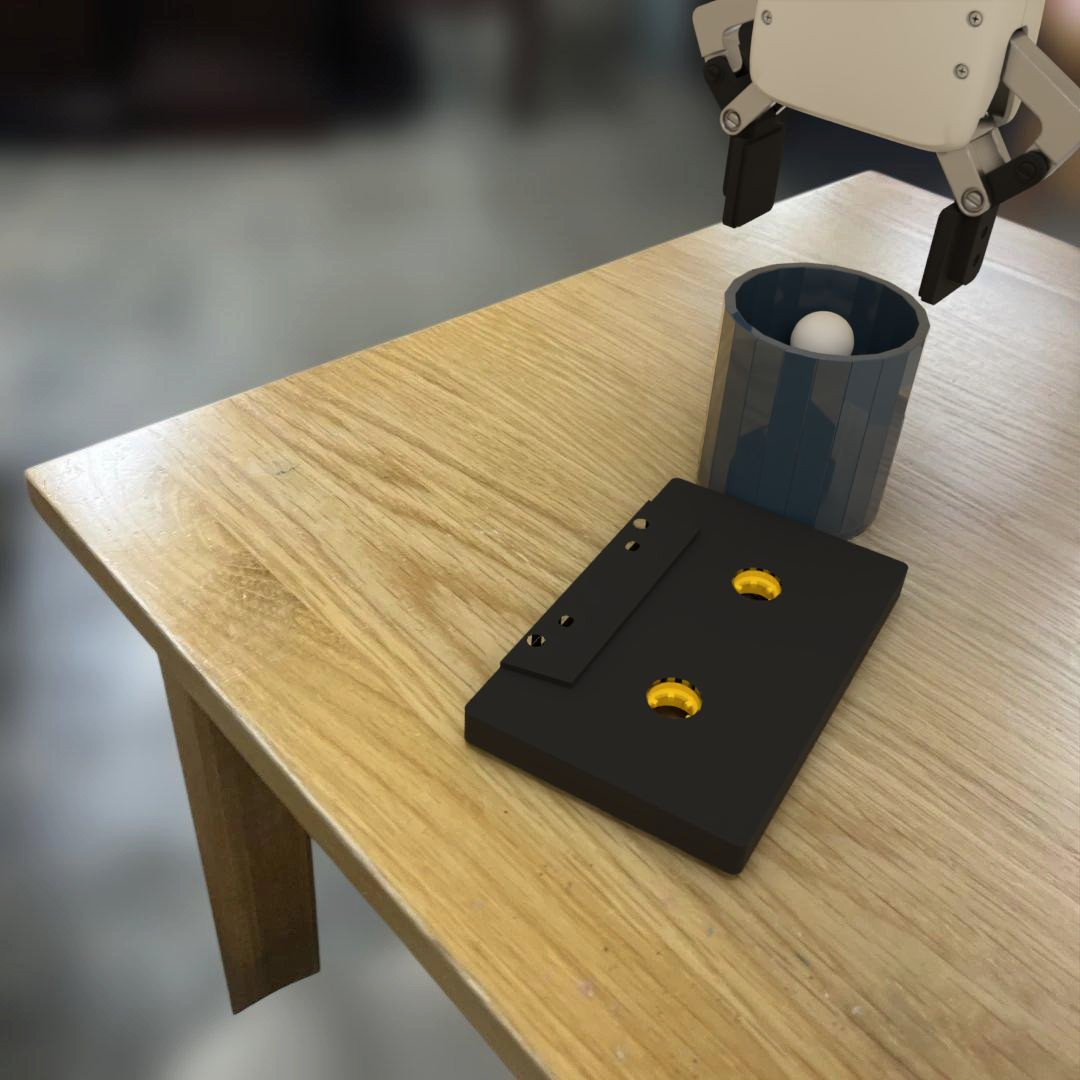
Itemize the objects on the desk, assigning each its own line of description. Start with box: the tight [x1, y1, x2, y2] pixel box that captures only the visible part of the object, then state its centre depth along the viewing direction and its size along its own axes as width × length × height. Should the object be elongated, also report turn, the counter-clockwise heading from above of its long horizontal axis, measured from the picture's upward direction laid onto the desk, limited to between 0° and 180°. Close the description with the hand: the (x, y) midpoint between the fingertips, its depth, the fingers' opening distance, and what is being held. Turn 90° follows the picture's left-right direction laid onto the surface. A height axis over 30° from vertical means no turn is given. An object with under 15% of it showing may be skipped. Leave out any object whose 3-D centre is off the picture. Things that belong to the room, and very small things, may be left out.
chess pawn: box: [790, 311, 854, 356], centre depth 57 cm, size 5×5×9 cm
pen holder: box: [695, 261, 931, 541], centre depth 58 cm, size 9×9×10 cm
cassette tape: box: [463, 477, 909, 876], centre depth 50 cm, size 18×12×2 cm, turn 149°
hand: (840, 253), depth 53 cm, fingers open, 9 cm apart
